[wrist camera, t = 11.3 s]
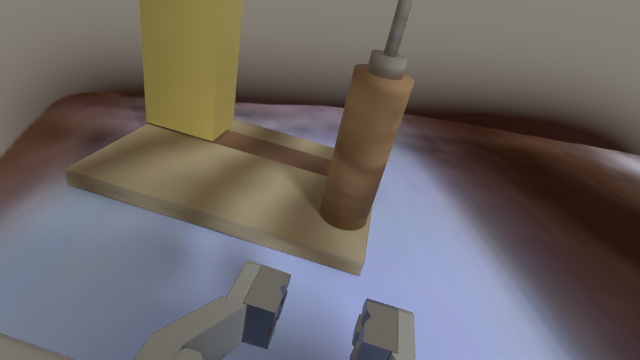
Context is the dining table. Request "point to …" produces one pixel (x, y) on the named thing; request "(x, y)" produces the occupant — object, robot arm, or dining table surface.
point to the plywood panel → (229, 187)
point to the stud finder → (191, 63)
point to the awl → (367, 130)
